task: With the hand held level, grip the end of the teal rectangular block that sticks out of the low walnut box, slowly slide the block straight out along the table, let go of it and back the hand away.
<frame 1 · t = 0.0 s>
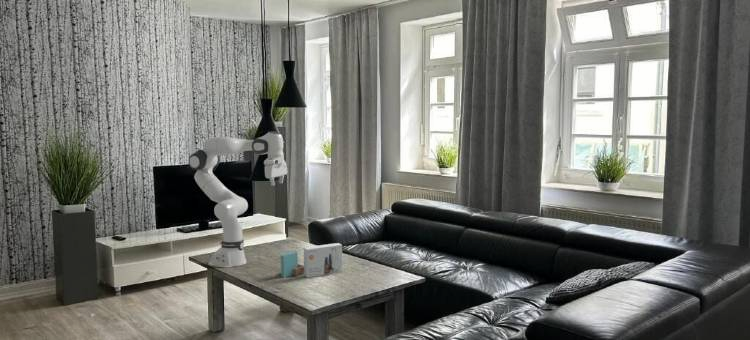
hand: (277, 184, 330), 48 cm above the table, tool pointing down, fingers open, 8 cm apart
teal rectangular block: (289, 275, 318), on the table
skincare box: (323, 274, 318), on the table
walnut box: (289, 275, 318), on the table
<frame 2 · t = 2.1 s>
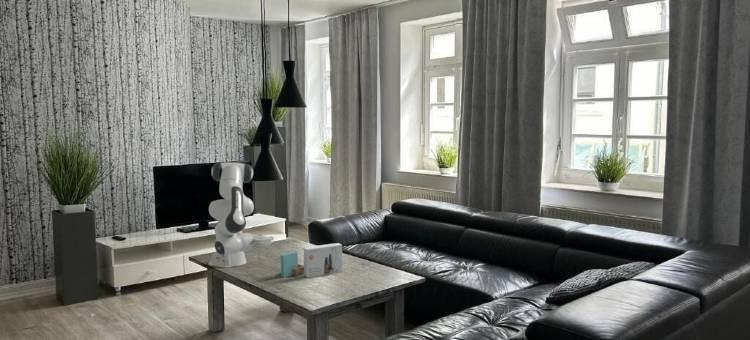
hand: (266, 237, 304), 24 cm above the table, tool horizontal, fingers open, 8 cm apart
nothing on the table moved.
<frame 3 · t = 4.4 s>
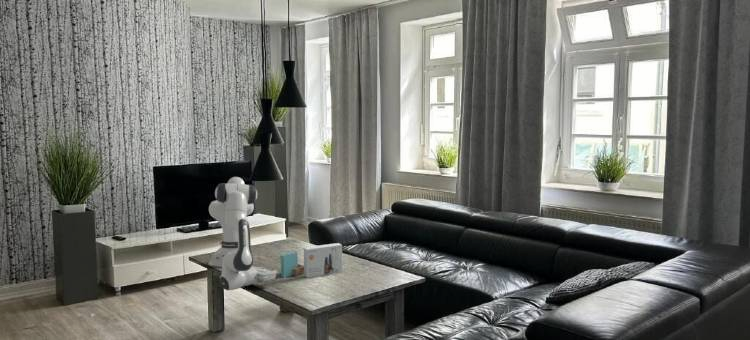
hand: (270, 269, 308), 6 cm above the table, tool horizontal, fingers open, 8 cm apart
nothing on the table moved.
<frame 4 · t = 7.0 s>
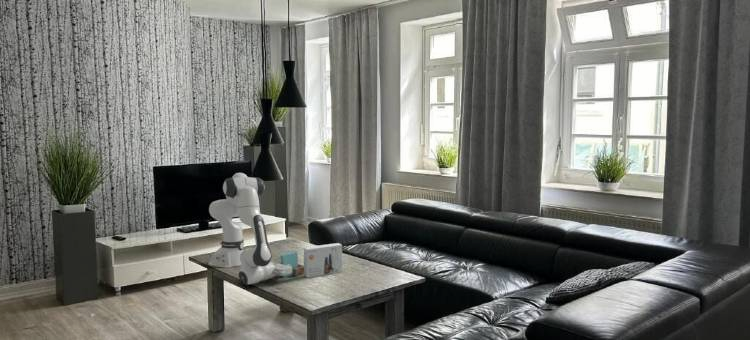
hand: (287, 264, 316), 6 cm above the table, tool horizontal, fingers closed on teal rectangular block, 2 cm apart
teal rectangular block: (289, 275, 318), on the table, touching gripper
everything else where it was.
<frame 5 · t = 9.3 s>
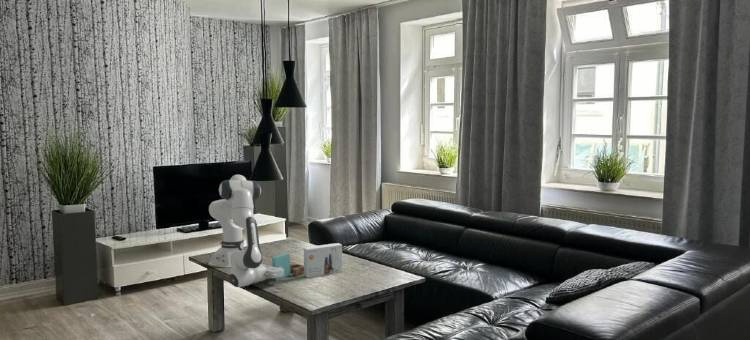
hand: (278, 267, 311), 6 cm above the table, tool horizontal, fingers closed on teal rectangular block, 2 cm apart
teal rectangular block: (281, 277, 313), on the table, touching gripper
everything else where it was.
when the fingers open (6 cm above the table, at t = 11.4 s): teal rectangular block stays where it is, on the table.
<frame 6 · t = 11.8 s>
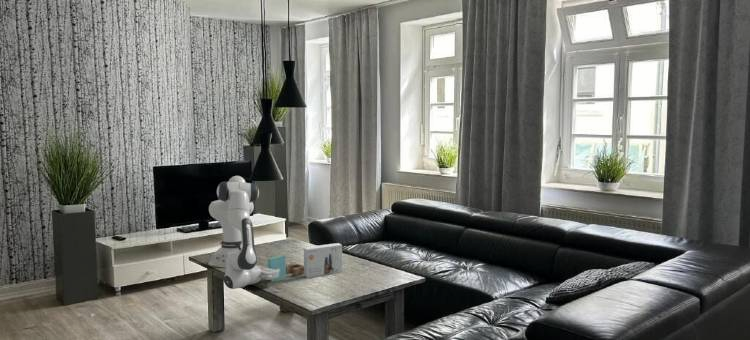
hand: (274, 268, 309), 6 cm above the table, tool horizontal, fingers open, 7 cm apart
teal rectangular block: (277, 278, 311), on the table
everything else where it was.
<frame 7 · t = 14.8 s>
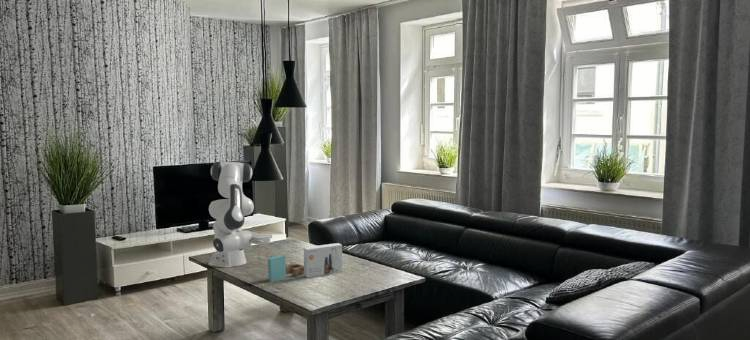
hand: (265, 234, 303), 25 cm above the table, tool horizontal, fingers open, 8 cm apart
nothing on the table moved.
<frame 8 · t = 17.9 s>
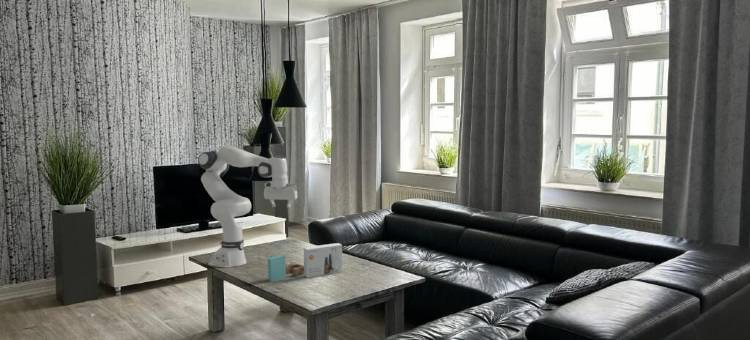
hand: (281, 207, 336), 34 cm above the table, tool pointing down, fingers open, 8 cm apart
nothing on the table moved.
at the end: teal rectangular block 0.6 cm from the target spot on the table beside the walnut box, on the table; teal rectangular block on the table; the gripper is holding nothing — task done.
